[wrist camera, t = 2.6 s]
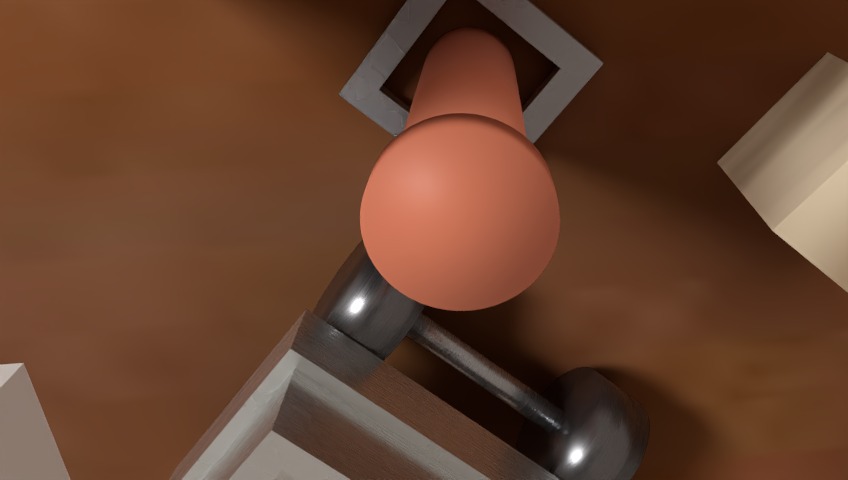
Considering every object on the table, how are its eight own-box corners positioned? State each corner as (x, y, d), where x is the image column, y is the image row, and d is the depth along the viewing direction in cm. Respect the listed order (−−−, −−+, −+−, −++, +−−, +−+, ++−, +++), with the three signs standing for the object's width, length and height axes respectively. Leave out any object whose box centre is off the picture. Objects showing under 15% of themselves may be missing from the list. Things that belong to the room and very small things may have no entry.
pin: (389, 83, 28) (321, 237, 16) (459, -10, 26) (441, 85, 15) (477, 150, 29) (474, 343, 17) (550, 64, 27) (602, 210, 15)
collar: (342, 88, 28) (338, 94, 27) (453, -64, 26) (452, -62, 25) (482, 193, 29) (482, 201, 29) (600, 58, 27) (603, 63, 26)
